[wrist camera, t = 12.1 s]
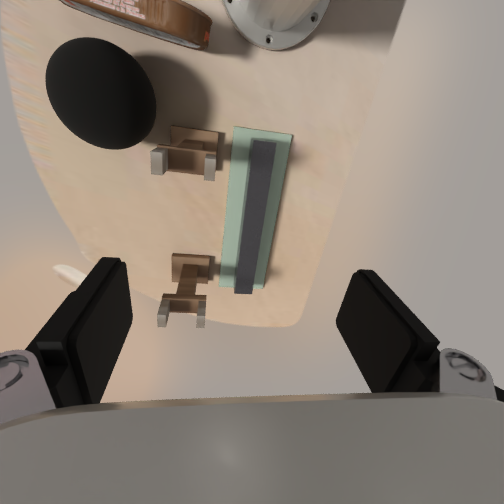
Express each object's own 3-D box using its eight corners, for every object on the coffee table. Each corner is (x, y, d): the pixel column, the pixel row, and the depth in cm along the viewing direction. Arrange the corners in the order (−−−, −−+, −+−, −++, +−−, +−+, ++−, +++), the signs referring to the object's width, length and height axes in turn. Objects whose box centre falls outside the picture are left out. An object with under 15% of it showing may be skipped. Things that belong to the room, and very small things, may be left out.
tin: (213, 28, 30) (212, 1, 22) (208, 61, 31) (205, 45, 24) (66, -24, 26) (8, -77, 19) (68, 15, 28) (14, -20, 20)
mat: (233, 126, 34) (234, 126, 34) (291, 134, 36) (292, 135, 35) (218, 285, 46) (218, 286, 46) (262, 287, 48) (262, 288, 47)
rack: (172, 125, 34) (148, 132, 22) (218, 132, 35) (218, 142, 23) (172, 278, 45) (157, 335, 33) (207, 280, 46) (204, 336, 34)
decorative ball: (70, 39, 29) (5, 7, 20) (164, 61, 30) (143, 40, 22) (81, 136, 33) (32, 145, 24) (162, 150, 35) (144, 163, 26)
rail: (250, 137, 35) (253, 139, 32) (272, 140, 35) (276, 142, 33) (233, 283, 46) (234, 293, 43) (250, 283, 46) (251, 294, 44)
